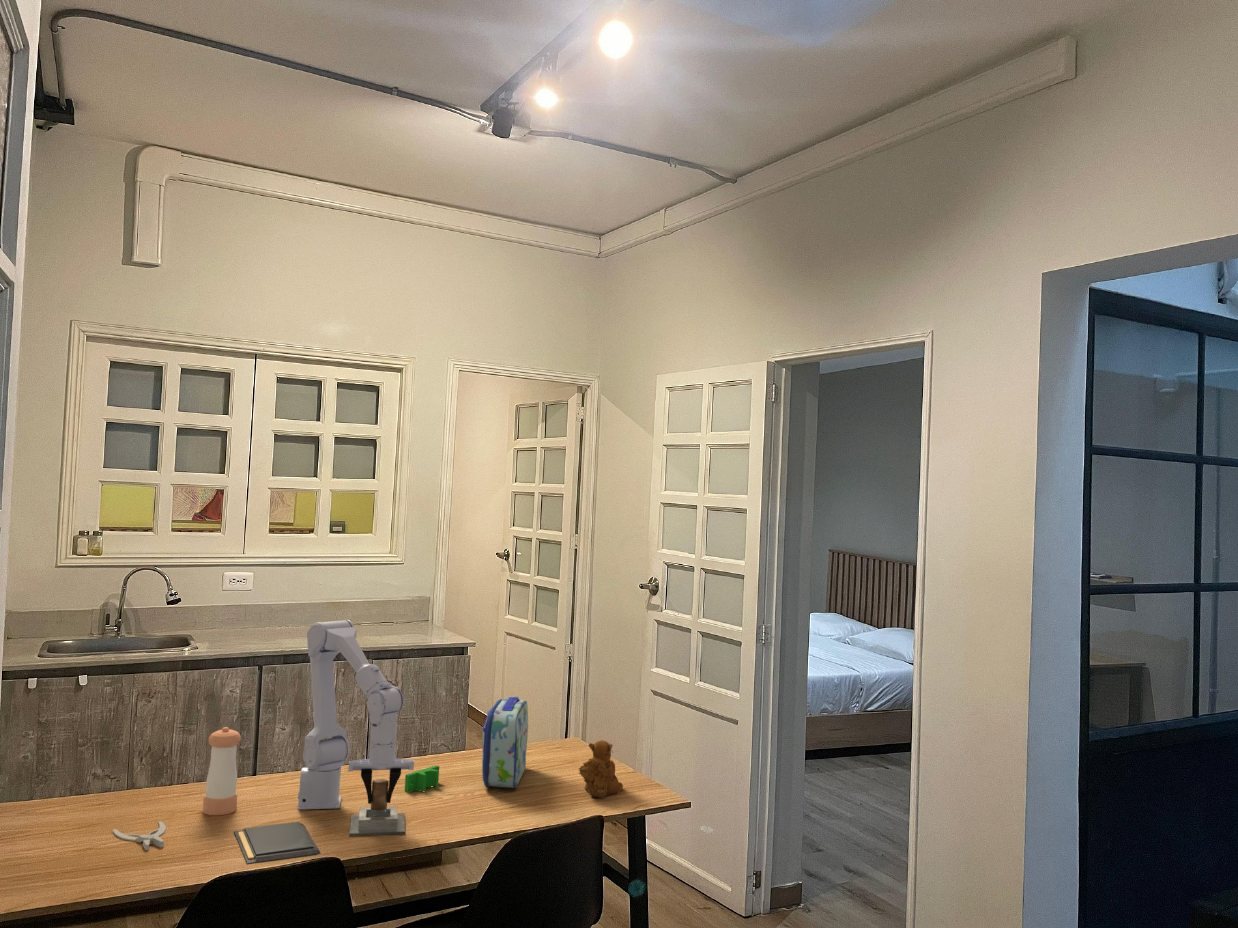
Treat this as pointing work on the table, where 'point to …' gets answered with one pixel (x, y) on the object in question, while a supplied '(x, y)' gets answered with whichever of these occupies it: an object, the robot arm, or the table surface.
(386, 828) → the mount
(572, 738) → the table surface
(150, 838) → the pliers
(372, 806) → the cylinder
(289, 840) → the grey flat slab
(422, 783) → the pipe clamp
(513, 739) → the lunch box
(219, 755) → the pepper shaker
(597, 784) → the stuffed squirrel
